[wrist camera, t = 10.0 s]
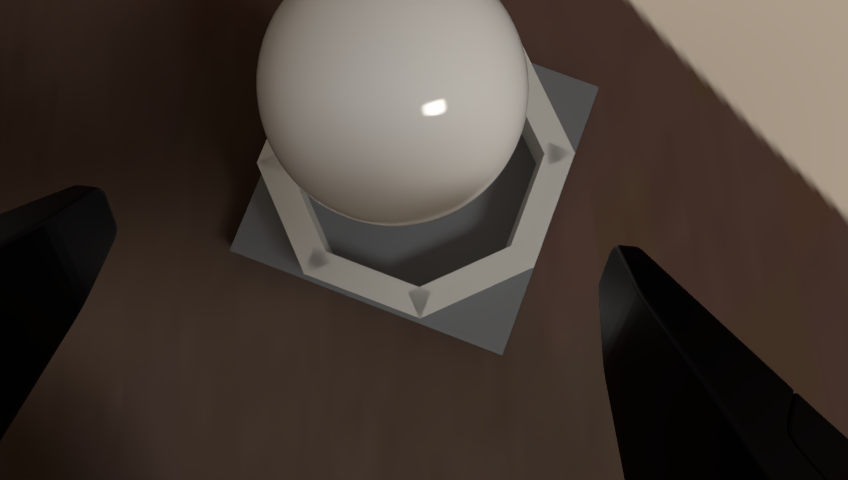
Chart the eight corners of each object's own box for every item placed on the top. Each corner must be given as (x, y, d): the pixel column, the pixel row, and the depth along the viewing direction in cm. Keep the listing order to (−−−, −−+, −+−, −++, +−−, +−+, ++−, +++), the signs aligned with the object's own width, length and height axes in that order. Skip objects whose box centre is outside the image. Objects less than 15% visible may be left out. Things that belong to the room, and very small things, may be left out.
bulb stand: (498, 352, 21) (507, 360, 19) (238, 252, 22) (213, 246, 19) (591, 96, 22) (611, 71, 20) (340, 6, 23) (329, -30, 20)
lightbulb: (295, 142, 21) (148, -24, 10) (435, 60, 21) (441, -189, 10) (378, 283, 20) (319, 269, 9) (522, 197, 21) (625, 86, 10)
